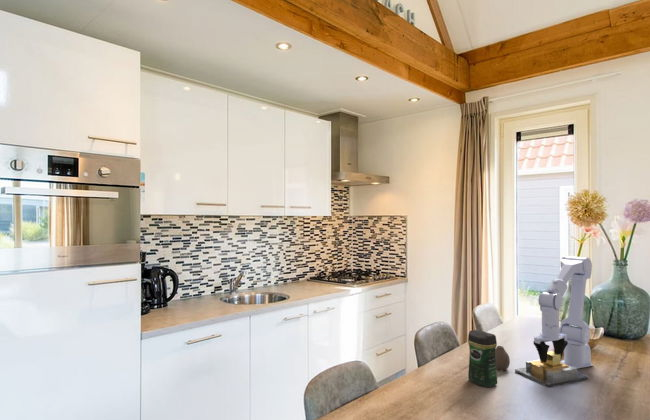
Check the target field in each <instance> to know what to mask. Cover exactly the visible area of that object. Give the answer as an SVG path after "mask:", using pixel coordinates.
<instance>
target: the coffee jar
mask: <svg viewBox="0 0 650 420" xmlns="http://www.w3.org/2000/svg"><path fill="white" fill-rule="evenodd" d="M467 336H468V337H467V343H468V348H469V362H468V374H467V375H468V380H469V382H472V383H473V384H475V385H478V386H480V387H484V388H487V387H488V388H491V387H492V388H493V387H495V386H497V384H498V373H497V370H496V361H495V349H496V347H497V346H498V341H497V337H496V335H495V334H494V333H490V332H487V331H483V330H480V329H473V330H472V329H471V330H470V331H469V332H468V335H467Z"/></svg>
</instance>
